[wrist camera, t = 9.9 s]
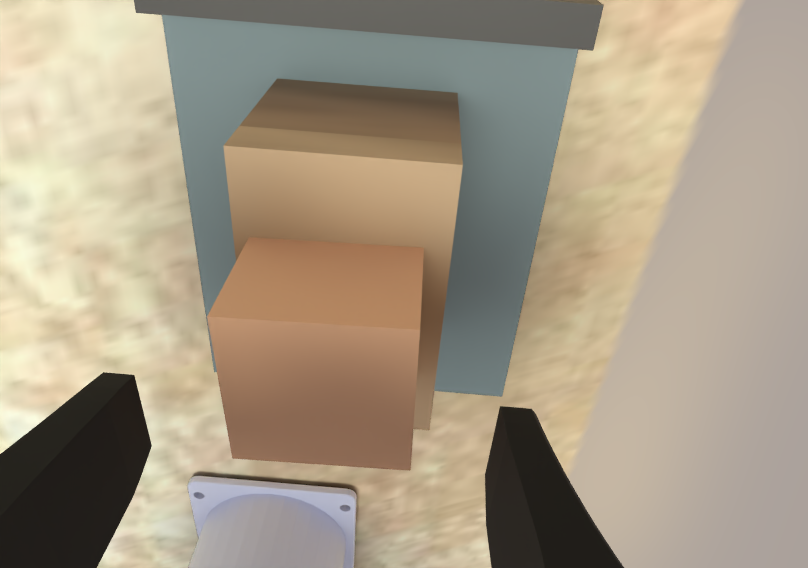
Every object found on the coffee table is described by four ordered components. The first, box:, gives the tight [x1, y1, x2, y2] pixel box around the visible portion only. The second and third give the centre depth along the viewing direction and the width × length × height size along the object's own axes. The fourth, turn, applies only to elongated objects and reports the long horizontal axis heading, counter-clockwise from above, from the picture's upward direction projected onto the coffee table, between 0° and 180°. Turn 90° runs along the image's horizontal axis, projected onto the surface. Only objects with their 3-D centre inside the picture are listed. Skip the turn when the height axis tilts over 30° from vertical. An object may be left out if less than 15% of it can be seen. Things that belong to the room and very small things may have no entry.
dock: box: [134, 0, 604, 396], centre depth 19 cm, size 14×11×3 cm
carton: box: [207, 237, 424, 470], centre depth 14 cm, size 4×4×3 cm
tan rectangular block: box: [224, 78, 463, 430], centre depth 17 cm, size 8×5×5 cm, turn 176°
